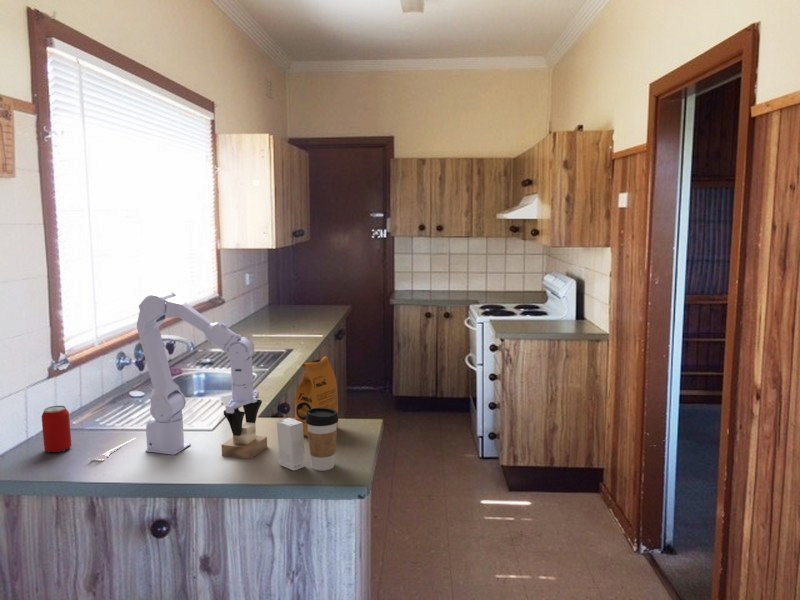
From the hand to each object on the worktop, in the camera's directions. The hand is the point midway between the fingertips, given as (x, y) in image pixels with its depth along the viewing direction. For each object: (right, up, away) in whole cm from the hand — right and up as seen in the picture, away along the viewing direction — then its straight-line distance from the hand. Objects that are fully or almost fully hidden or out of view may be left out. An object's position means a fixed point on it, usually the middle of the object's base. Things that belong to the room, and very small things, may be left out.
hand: (244, 430), depth 178 cm
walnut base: (0, -6, +1) cm, 6 cm away
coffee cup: (+23, -8, -10) cm, 26 cm away
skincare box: (+15, -8, -9) cm, 19 cm away
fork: (-36, -7, +2) cm, 37 cm away
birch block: (0, -3, 0) cm, 3 cm away
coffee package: (+18, -4, +16) cm, 25 cm away
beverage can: (-53, -6, +2) cm, 53 cm away
